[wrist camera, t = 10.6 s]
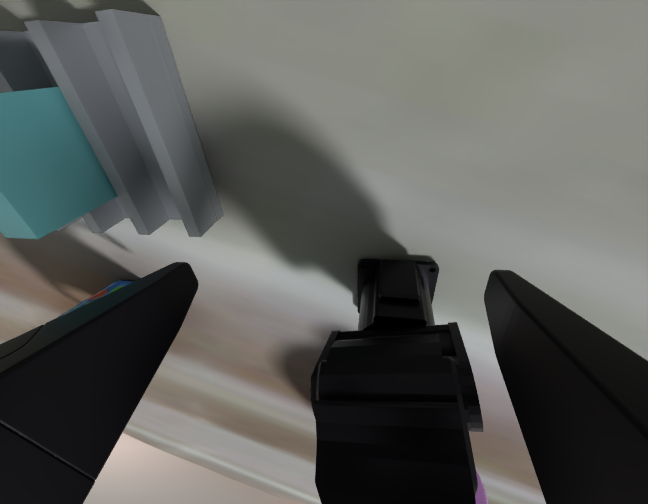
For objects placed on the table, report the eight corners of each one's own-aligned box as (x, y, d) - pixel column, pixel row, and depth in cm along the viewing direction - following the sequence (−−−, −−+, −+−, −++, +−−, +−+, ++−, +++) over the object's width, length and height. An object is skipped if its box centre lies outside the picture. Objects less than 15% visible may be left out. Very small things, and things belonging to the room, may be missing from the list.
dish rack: (223, 215, 24) (201, 236, 21) (84, 211, 26) (48, 230, 24) (160, 16, 16) (112, 8, 13) (-25, 41, 19) (-97, 39, 16)
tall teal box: (138, 185, 22) (38, 239, 16) (112, 185, 23) (5, 237, 16) (89, 83, 18) (-73, 100, 12) (59, 85, 19) (-112, 104, 12)
